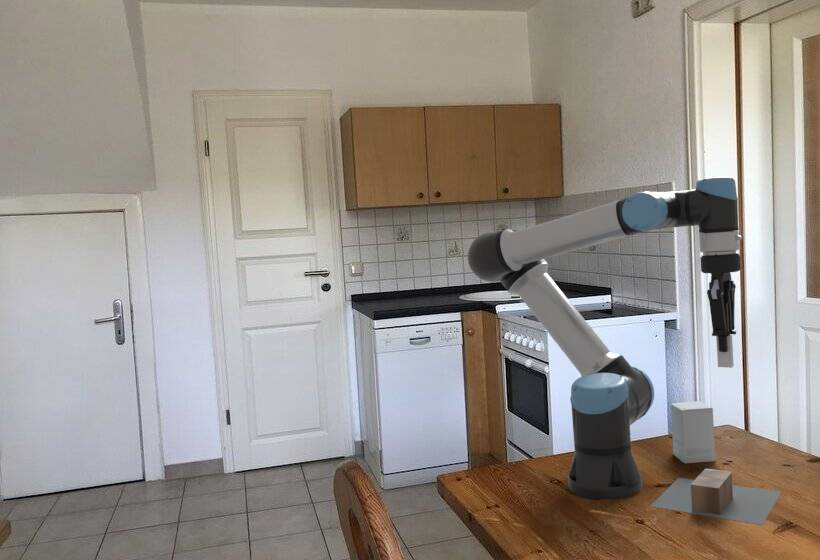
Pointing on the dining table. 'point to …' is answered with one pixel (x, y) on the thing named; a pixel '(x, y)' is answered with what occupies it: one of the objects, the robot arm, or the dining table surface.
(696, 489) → the walnut block
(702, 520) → the dining table surface
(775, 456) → the dining table surface
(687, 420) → the supplement box
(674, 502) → the rubber mat
